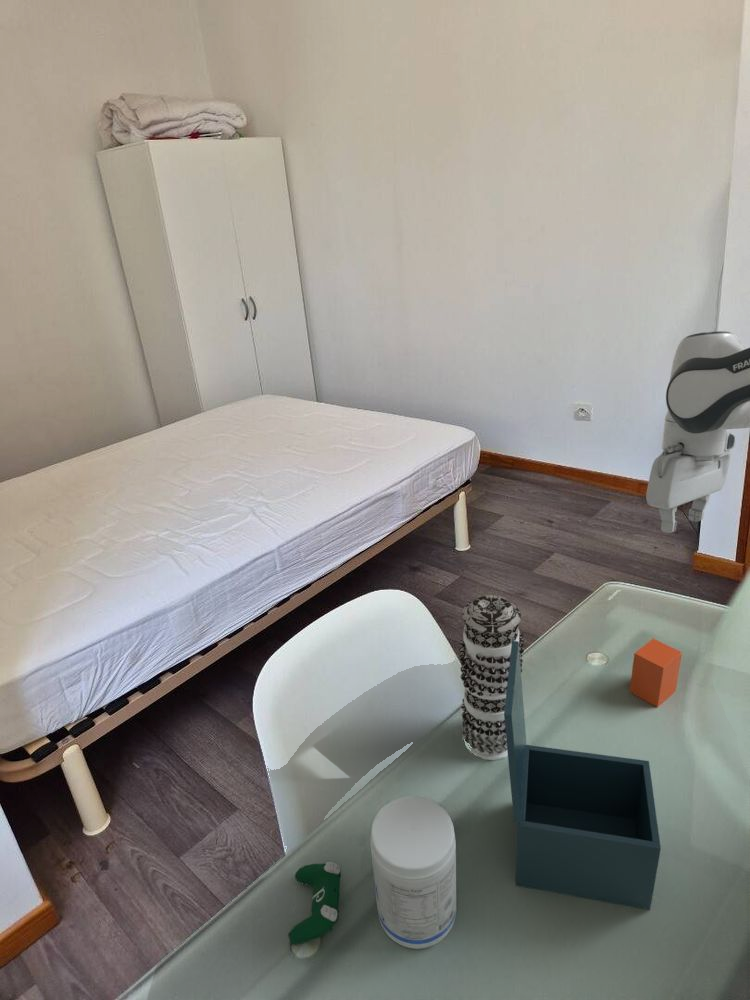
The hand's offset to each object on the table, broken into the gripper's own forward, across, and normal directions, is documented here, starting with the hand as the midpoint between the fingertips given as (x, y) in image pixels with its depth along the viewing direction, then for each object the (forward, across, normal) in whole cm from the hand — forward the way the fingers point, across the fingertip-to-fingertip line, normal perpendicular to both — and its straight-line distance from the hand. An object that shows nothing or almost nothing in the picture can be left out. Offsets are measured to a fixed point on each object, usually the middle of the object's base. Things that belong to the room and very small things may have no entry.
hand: (682, 526), depth 109 cm
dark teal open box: (+34, -37, -8) cm, 51 cm away
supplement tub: (+38, -57, +1) cm, 69 cm away
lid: (+16, -45, -3) cm, 48 cm away
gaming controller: (+38, -66, +10) cm, 77 cm away
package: (+27, -4, -1) cm, 28 cm away
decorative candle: (+31, -30, +12) cm, 45 cm away
